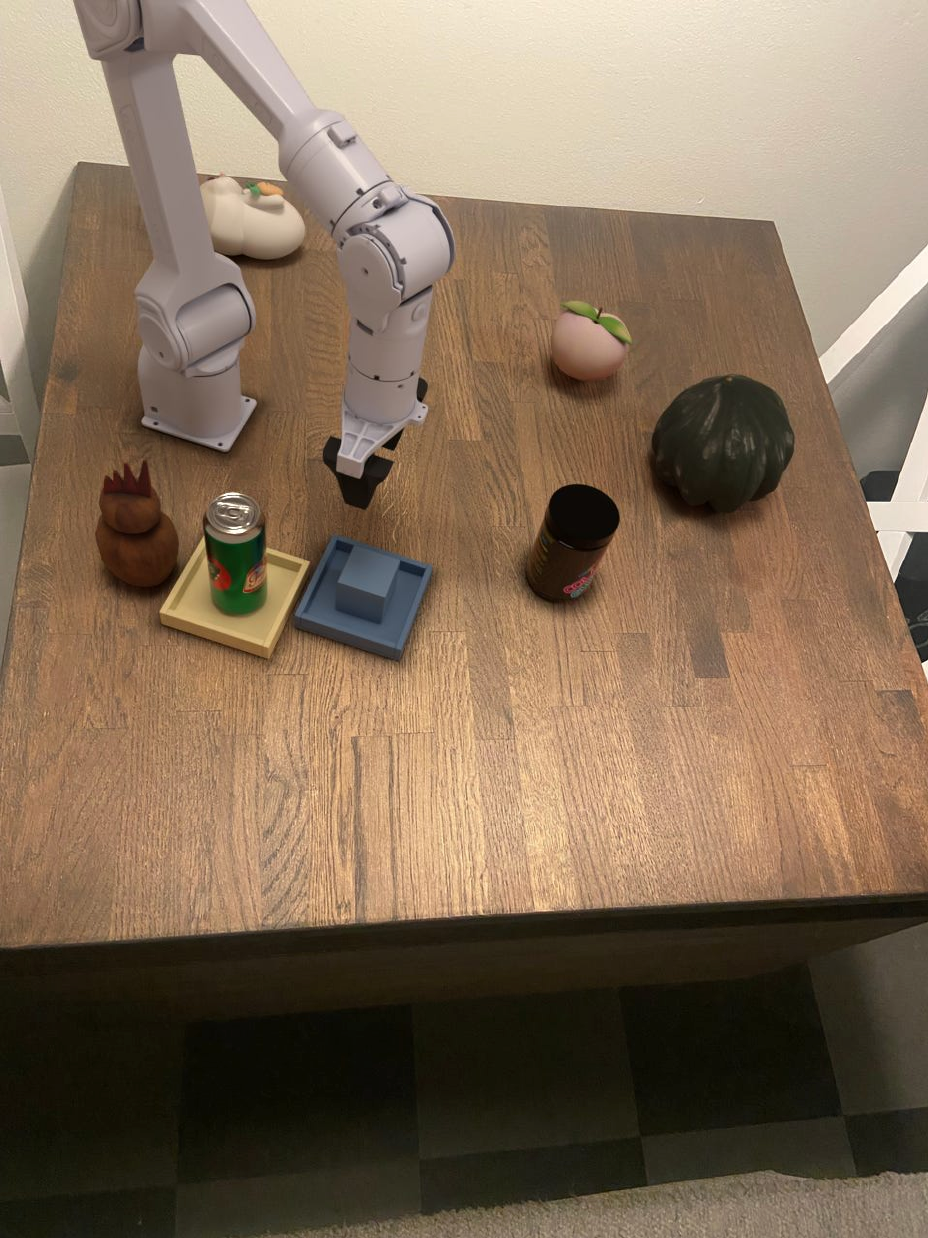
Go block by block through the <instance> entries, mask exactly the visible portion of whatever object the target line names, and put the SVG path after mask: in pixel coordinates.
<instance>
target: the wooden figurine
mask: <svg viewBox="0 0 928 1238" xmlns="http://www.w3.org/2000/svg"><path fill="white" fill-rule="evenodd" d="M98 505H99V509H100V515H99V517H98V521H97V525H96V529H95V533H94V537H95V542H96V546H97V549H98V553H99V556H100V560H101V561H102V563H103V564H104V565H105V566H106V567H107V568H108V569H109V570H110V571H111V572H112V573H113V574H114V575H115V576H117V577H118V578H119V579H120V580H122V582H125V583H127V584H129V585H132V586H136V587H141V588H152V587H154V586H158V585H160V584H161V583H163V582H164V581H166V580H167V579H168V577H169V576H170V574H171V573H172V572H173V570H174V568H175V566H176V562H177V558H178V554H179V546H180V544H179V542H180V541H179V536H178V531H177V529H176V527H175V524H174V522H173V520H172V519H171V518H170V516H168V515H167V514H166V513H165V512H163V511H162V505H161V500H160V497H159V495H158V492H157V491H156V489H155V488H154V486H152V481H151V475H150V469H149V463H148V460H146V459H143V460H142V462H141V467H140V472H139V476H138V477H137V476H135V475H134V473H133V471H132V469H131V467H130V464H129V463H128V462H127V461H126V462H124V463H123V476H121V475H120V473H119V471H118V470H116V469H113V471H112V477H110V476H109V475H107V474H105V475H104V479H103V487H102V489H101V491H100V494H99V499H98Z"/></svg>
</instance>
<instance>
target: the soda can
mask: <svg viewBox="0 0 928 1238" xmlns="http://www.w3.org/2000/svg"><path fill="white" fill-rule="evenodd" d="M202 529H203V536H204V539H205V548H206V556H207V565H208V573H209V582H210V590H211V597H212V600H213V602H214V603H215V605H216V606H217V607H218V608H219V609H221V610H222V611H224V612H227V613H230V614H235V615H243V614H248V613H251V612H253V611H255V610H257V609H258V608H260V607H261V606H262V605H263V603H264V602H265V600H266V597H267V592H268V589H267V552H266V547H267V521H266V515H265V513H264V511H263V509H262V508H261V507H260V505H259V504H258V502H257V501H256V500H255V499H254V498H253V497H251V496H250V495H247V494H245V493H241V492H226V493H222V494H220V495H218V496H216V497H215V498H213V499H212V500H211V501H210V502H209V504H208V505H207V508H206V510H205V511H204V513H203V516H202Z"/></svg>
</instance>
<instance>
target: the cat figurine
mask: <svg viewBox="0 0 928 1238" xmlns="http://www.w3.org/2000/svg"><path fill="white" fill-rule="evenodd" d="M206 180H207V181H205V182H203V183H202V184H200V190H201V195H202V199H203V204H204V208H205V213H206V217H207V222H208V226H209V231H210V235H211V240H212V244H213V249H214V252H216V253H219V254H221V255H224V256H239V255H244V256H247V257H250V258H253V259H256V260H264V261H265V260H276V259H280V258H284V257H286V256H289V255H290V254H292V253H293V252H295V251H296V250H298V248H299V247H300V246H301V245H302V243H303V241H304V240H305V236H306V224H305V222H304V219H303V217H302V216H301V214H300V212H299V211H298V210H297V209H296V207H294V205H293V204H291V203H290V202H289V201H287V200H286V199H284V197H283V195H284V191H283V190H282V189H281V188H280V187H278V186H276V185H274V184H272V183H269V182H268V181H267V182H266V181H259V182H258V183H257V184H255V183H254V182H253V181H251V182H249V181H246V182H244V184H245V186H246V188H243V187H242V186H241V185H240V184H239V183H238V181H236V180H235V179H234V178H232V177H230V176H227V175H226V173H225V172H224V171H223V172H222V171H221V172H220V173H219V174H218V177H216V178H215V177H213V176H209V178H208V179H206Z"/></svg>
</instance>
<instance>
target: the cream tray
mask: <svg viewBox="0 0 928 1238" xmlns="http://www.w3.org/2000/svg"><path fill="white" fill-rule="evenodd" d="M266 552H267V589H268V592H267V597H266V600H265V602H264V603H263V605H262V606H261V607H260V608H258V609H257V610H255V611H253V612H251V613H248V614H243V615H235V614H230V613H227V612H224V611H222V610H221V609H219V608H218V607H217V606H216V605H215V603H214V602H213V600H212V597H211V590H210V582H209V573H208V565H207V556H206V548H205V539H204V535H203V536H202V537H201V540H200V541H199V543H198V544H197V546H196V548H195V550H194V551H193V553H192V555H191V556H190V559H189V560H188V562H187V563H186V565H185V567H184V568H183V570H182V571H181V574H180V576H179V577H178V579H177V580H176V583H175V584H174V586H173V587H172V589H171V590H170V593H169V594H168V595H167V598H166V599H165V601H164V603H163V605H162V606H161V607H160V609H159V611H158V614H159V617H160V622H161V625H164V626H166V627H170V628H173V629H176V630H179V631H182V632H185V633H188V634H192V635H194V636H196V637H200V638H203V639H207V640H209V641H213V642H216V643H219V644H222V645H225V646H228V647H231V648H234V649H237V650H240V651H243V652H245V653H249V654H252V655H255V656H259V657H262V658H264V659H267V660H269V659H270V658H271V656H272V654H273V652H274V649H275V647H276V645H277V644H278V641H279V639H280V637H281V635H282V633H283V631H284V629H285V627H286V625H287V622H288V620H289V618H290V616H291V614H292V612H293V610H294V608H295V606H296V603H297V602H298V600H299V597H300V595H301V593H302V591H303V589H304V587H305V585H306V583H307V581H308V578H309V577H310V574H311V572H310V571H311V561H309V560H306V559H304V558H302V557H298V556H294V555H291V554H288V553H285V552H283V551H280V550H276V549H273V548H271V547H267V546H266Z"/></svg>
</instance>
